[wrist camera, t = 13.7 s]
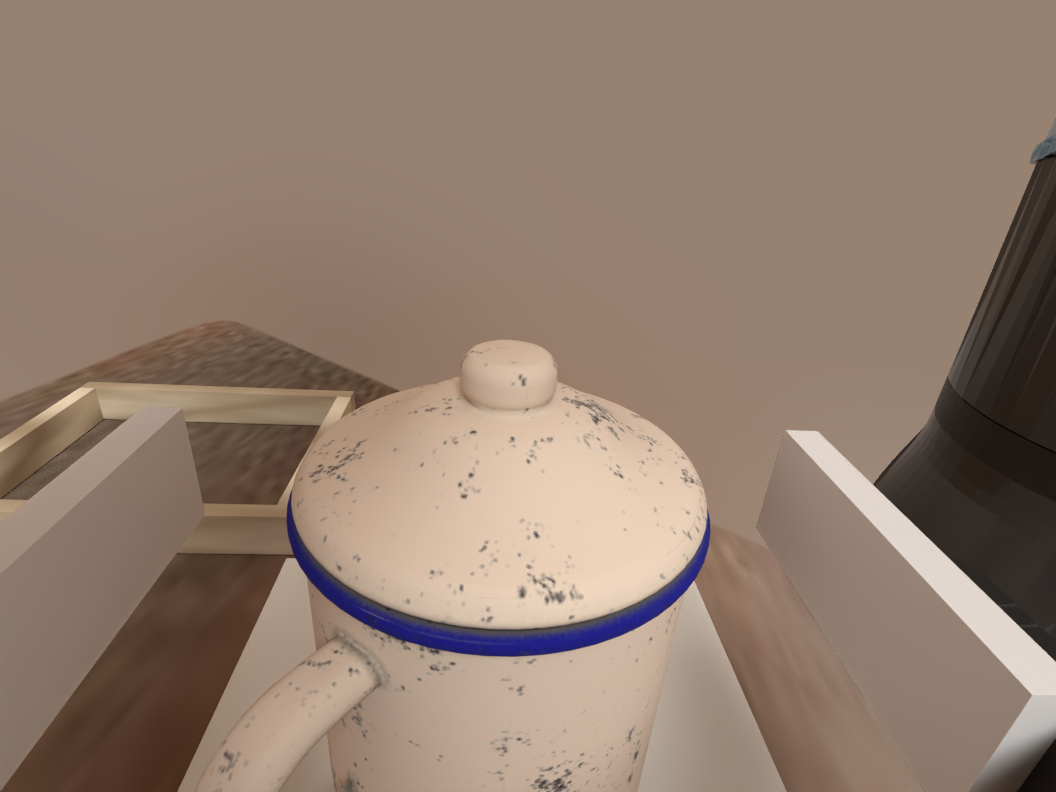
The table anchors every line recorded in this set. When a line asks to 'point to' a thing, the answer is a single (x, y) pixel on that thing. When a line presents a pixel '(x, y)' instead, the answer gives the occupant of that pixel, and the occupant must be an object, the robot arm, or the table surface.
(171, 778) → the table surface
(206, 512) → the cup holder
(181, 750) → the table surface
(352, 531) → the teacup with lid
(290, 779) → the ceramic board
